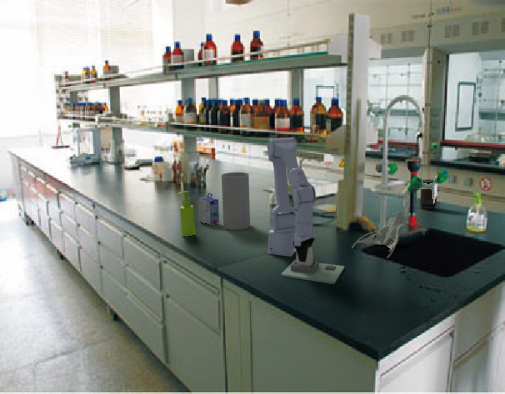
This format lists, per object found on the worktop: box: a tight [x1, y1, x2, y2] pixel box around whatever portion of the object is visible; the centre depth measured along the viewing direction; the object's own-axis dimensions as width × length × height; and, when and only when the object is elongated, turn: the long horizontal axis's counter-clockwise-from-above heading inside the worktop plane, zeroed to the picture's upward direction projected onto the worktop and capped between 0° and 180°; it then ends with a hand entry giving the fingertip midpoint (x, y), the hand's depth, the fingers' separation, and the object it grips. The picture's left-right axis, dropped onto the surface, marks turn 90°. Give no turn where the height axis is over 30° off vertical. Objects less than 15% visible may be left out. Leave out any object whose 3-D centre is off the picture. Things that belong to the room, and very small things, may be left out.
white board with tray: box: [280, 259, 345, 285], centre depth 147 cm, size 18×14×3 cm
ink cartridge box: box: [198, 192, 220, 226], centre depth 210 cm, size 10×6×14 cm, turn 41°
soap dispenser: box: [177, 190, 196, 237], centre depth 190 cm, size 6×7×20 cm
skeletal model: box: [351, 211, 405, 259], centre depth 171 cm, size 16×9×25 cm
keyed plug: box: [295, 246, 314, 266], centre depth 147 cm, size 5×3×6 cm, turn 65°
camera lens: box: [419, 179, 438, 211], centre depth 224 cm, size 8×8×15 cm
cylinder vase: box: [220, 171, 251, 231], centre depth 200 cm, size 12×12×25 cm
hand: (304, 259), depth 148 cm, fingers closed on keyed plug, 3 cm apart
